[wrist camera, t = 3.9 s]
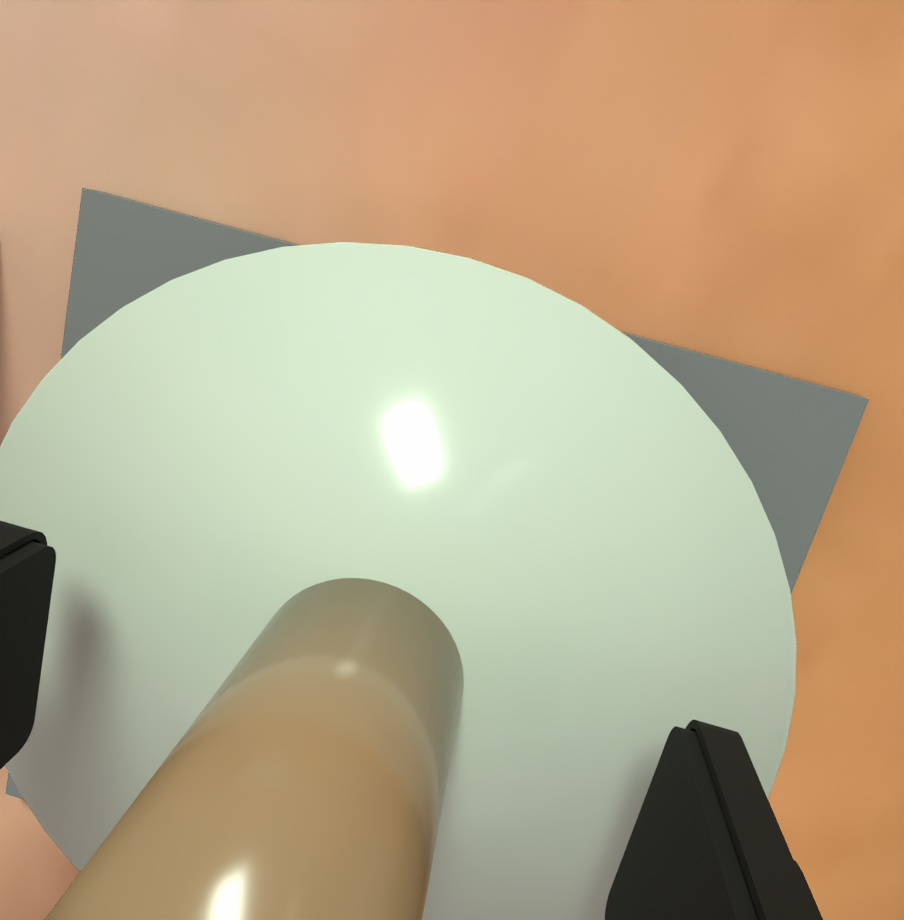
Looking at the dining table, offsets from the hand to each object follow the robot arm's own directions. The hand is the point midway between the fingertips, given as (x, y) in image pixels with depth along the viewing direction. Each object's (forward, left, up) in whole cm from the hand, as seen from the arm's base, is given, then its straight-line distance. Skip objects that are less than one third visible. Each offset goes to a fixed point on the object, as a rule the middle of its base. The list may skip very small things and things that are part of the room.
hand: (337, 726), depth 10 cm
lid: (0, 0, -3) cm, 3 cm away
